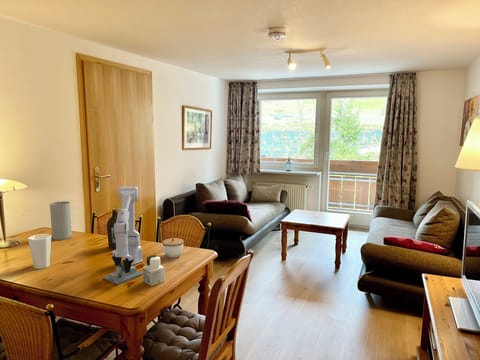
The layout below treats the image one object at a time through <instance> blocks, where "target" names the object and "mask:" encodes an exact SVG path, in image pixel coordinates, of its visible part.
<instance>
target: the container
mask: <svg viewBox="0 0 480 360" xmlns="http://www.w3.org/2000/svg"><path fill="white" fill-rule="evenodd" d="M142 273H143V275H142V276H143V277H142V278H143V280H142V281H143V282H144V283H146V284H147V285H149V286H151V287H152V286H153V287H154V286H155V285H159V284H161V283H164V282H165V280H166V278H165V266H163V265H161V256H159V255H157V254H155V255H149V256H147V257H146V265H144V266H143V267H142Z"/></svg>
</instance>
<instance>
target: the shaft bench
mask: <svg viewBox="0 0 480 360" xmlns="http://www.w3.org/2000/svg"><path fill="white" fill-rule="evenodd" d="M137 269H138V268H137V266H133V265H131V268H130V272H129V274H130V275H128V276H125V277H123V278H121V277H119V276H118V274H116V272H114V271H113V272H111V273H109V275H108V274H107V275H105V276H103V277H102V278H103V280H105V281H108V282H110V283H112V284H114V285H117V286H118V285H121V284H124V283H127V282H128V281H131V280H134V279H136V278H139V277H142V276H143V272H141V271H139V270H137Z"/></svg>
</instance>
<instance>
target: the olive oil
mask: <svg viewBox="0 0 480 360" xmlns="http://www.w3.org/2000/svg"><path fill="white" fill-rule="evenodd" d="M111 211H112V212H111V214H112V215H111V217H110V218H109V219H108V220H107V221H106V232H107V242H108V243H107V245H108V249H109V250H112V251H114V250H116V237H115V234H114V224H115V223H116V221H117V216H118V209H116V208H115V209H112V210H111Z"/></svg>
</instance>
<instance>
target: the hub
mask: <svg viewBox="0 0 480 360" xmlns="http://www.w3.org/2000/svg"><path fill="white" fill-rule="evenodd" d="M115 273H116V274H118V276H119V277H121V278H123V277H125V276H128V275H130V274H129V272H128V273H125V268H124V264H123V263H121V265H118V266H115Z"/></svg>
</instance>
